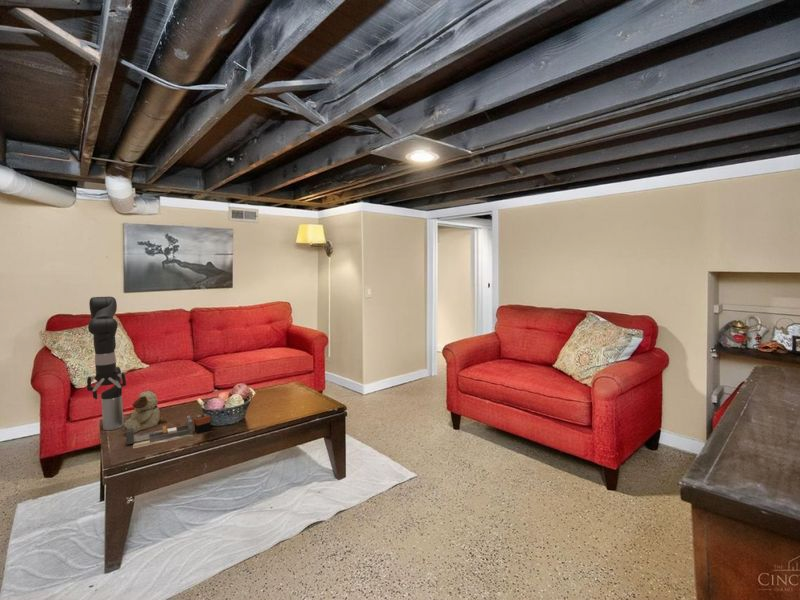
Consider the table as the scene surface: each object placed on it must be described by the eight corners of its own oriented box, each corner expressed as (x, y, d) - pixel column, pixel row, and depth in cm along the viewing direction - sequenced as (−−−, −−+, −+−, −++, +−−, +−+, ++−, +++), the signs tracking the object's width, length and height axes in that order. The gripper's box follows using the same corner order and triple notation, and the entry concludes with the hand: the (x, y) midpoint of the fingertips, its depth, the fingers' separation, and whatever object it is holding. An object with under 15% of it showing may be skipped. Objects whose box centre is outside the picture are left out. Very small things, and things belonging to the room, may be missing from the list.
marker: (167, 434, 209) (167, 429, 208) (176, 432, 211) (176, 427, 211) (168, 437, 205) (167, 431, 205) (177, 435, 208) (176, 429, 207)
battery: (194, 433, 212) (193, 415, 211) (207, 430, 217) (206, 412, 217) (198, 436, 209) (197, 417, 209) (211, 432, 215) (210, 414, 214)
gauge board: (133, 440, 205) (132, 424, 204) (190, 428, 219) (189, 414, 218) (133, 450, 193) (132, 434, 192) (193, 437, 207) (192, 422, 207)
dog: (133, 421, 230) (131, 387, 228) (170, 416, 236) (169, 383, 235) (122, 437, 208) (120, 400, 206) (163, 432, 215) (161, 396, 213)
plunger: (126, 441, 199) (126, 429, 199) (166, 433, 209) (165, 421, 208) (126, 445, 195) (126, 432, 195) (167, 437, 205) (166, 425, 204)
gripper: (124, 358, 188) (126, 392, 190) (86, 362, 181) (89, 397, 182) (124, 362, 182) (126, 396, 184) (84, 366, 174) (87, 402, 176)
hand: (107, 397), depth 183 cm, fingers open, 8 cm apart
